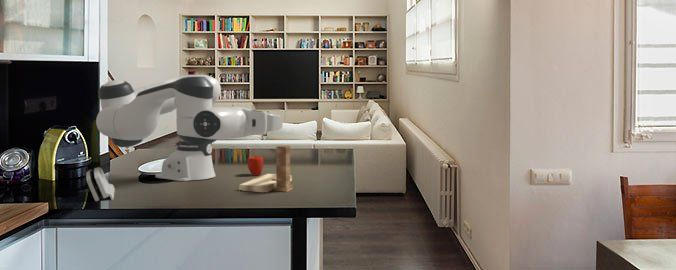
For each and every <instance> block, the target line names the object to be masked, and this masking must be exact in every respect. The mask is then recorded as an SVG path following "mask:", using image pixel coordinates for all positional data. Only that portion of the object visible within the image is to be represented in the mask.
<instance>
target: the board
mask: <svg viewBox="0 0 676 270" xmlns="http://www.w3.org/2000/svg"><path fill="white" fill-rule="evenodd" d="M271 179H276V173H266V174H263V175H261V176H260V175H259V176H257V177H256V178H253V179H251V180H247V181H245V182H243V183H240V184H239V185H238V186H239V189H238V191H240V190H242V191H243V192H254V193H265V192H266V193H268V192H270V191H274V186H276V181H272V180H271ZM292 181H293V175H292V174H290V182H292Z"/></svg>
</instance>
